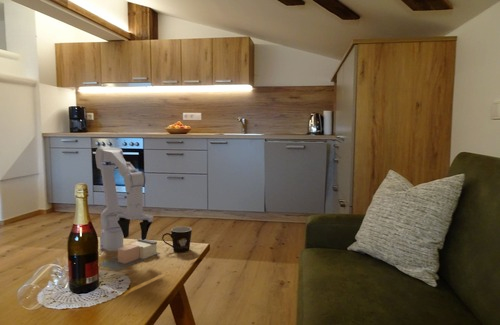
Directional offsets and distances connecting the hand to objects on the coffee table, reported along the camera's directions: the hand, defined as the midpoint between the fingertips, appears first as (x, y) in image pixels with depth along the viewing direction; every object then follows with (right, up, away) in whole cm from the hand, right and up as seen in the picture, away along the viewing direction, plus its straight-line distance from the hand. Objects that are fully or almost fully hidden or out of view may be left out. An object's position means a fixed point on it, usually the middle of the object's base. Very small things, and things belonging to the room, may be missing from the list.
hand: (135, 238), depth 136 cm
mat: (-3, -10, +3) cm, 10 cm away
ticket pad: (+1, -8, +8) cm, 11 cm away
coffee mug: (+14, -9, +14) cm, 22 cm away
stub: (-3, -9, +1) cm, 9 cm away
